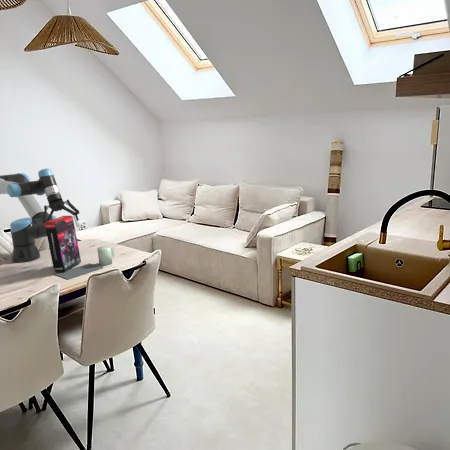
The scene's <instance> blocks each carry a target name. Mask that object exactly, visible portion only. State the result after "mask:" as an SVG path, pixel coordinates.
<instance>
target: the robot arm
mask: <svg viewBox="0 0 450 450" xmlns="http://www.w3.org/2000/svg"><path fill="white" fill-rule="evenodd" d="M37 174H38V180H33V181H31V178H30V177H29V175H27V174H26V173H23V172H22V173H12V174H2V175H0V195H4V194H5V195H9V197H10V198H17V199H18V201H19V202H20V204H21V205H22V207H23V208H24V209H25V211H26V213H27V214H28V216H29V217H24V218H23V217H22V218H18V219H15V220H14V221H12V222H10V224H9V225H10V226H9V227H10V234H11V240H12V241H11V242H12V247H13V249H12V254H11V261H12V262H14V263H26V262H32V261H36V260H37V259H40V258H41V252H40V251H39V249H38V247H37V245H36V241H35V240H37V239H42V238H47V233H46V228H45V222H47V221H50V220H53V219H56V218H57V216H56V215H53V214H54V212H58V211H62V210H63V211H65V212H67V213H69V214H70V215H71V216H73V221H74V224H75V225H76V227H77V228H79V227H80V225H79V220H80V219H79V217H78V215H80V211H79V210H78V209H77V207H76V206H74V205H73V203H72V202H71V201H70V200H69V199H66V200H63V197H62V194H61V192H60V190H59V186H58V183H57V180H56V179H55V175H54V173H53V170H52V169H51V168H43V169H41V170H38V173H37ZM34 195H37V196H38V197H39V196H43V195H45V197H46V200H47V203H48V205H46V204H45V205H43V208H42V206H41V205H40V203H39V201H38V200H37V199H36V197H35V196H34ZM65 205H67V206H69V207H67V206H65ZM49 209H51V210H50V212H48V210H49Z"/></svg>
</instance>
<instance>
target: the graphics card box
mask: <svg viewBox="0 0 450 450" xmlns="http://www.w3.org/2000/svg"><path fill="white" fill-rule="evenodd" d="M73 216H74V215H61V216H59V217H56V219H53V220H50V221H47V222H45V228H46V233H47V236H46V238H47V242H48V248H49V253H50V257H51V263H52V267H53V271H54V273H60V272H65V271H67V270H69V269H73V268H74V267H75V266H77V265H78V264H80V263H81V262H82V258H81V253H80V248H79V245H78V244H79V243H78V239H77V234H76V226H75V220H74V217H73Z"/></svg>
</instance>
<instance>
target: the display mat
mask: <svg viewBox="0 0 450 450" xmlns="http://www.w3.org/2000/svg"><path fill="white" fill-rule="evenodd" d="M100 269H104V266H100V265H97V264H93V263H90V262H89V263H86V264H83V265H80V266H76V267H72V268H70V269H68V270H67V271H65V272H56V273H54V276H56V277H59V278H62V279H65V280H68V281H69V280H72V279H75V278H78V277H80V276H83V275H87V274H89V273H92V272H95V271H98V270H100Z"/></svg>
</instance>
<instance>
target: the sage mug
mask: <svg viewBox="0 0 450 450" xmlns="http://www.w3.org/2000/svg"><path fill="white" fill-rule="evenodd" d="M96 251H97V258H98V259H97V260H98V266H101V267H105V266H111V265H113V258H115V250H114V247H112V248H111V246H107V245H105V246H100V247H98V248H97V250H96Z"/></svg>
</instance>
